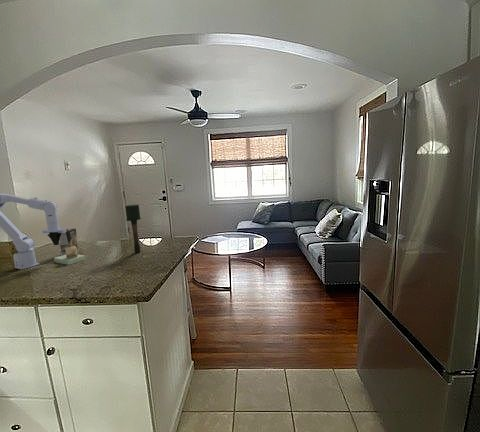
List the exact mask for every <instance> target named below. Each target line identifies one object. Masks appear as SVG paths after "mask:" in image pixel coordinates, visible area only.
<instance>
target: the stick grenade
mask: <svg viewBox="0 0 480 432" xmlns="http://www.w3.org/2000/svg"><path fill="white" fill-rule="evenodd" d="M124 209H125V214H126V221H127V222H130V223H131V229H132V230H131V231H132V234H133V248H134V249H133V250H134V253H135V254H139V253H141V246H140V242H139V234H138V233H139V232H138V221H140V220H141V219H142V218H141V211H140V205H139V204H129V205H125V208H124ZM126 221H125V222H126Z"/></svg>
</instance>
